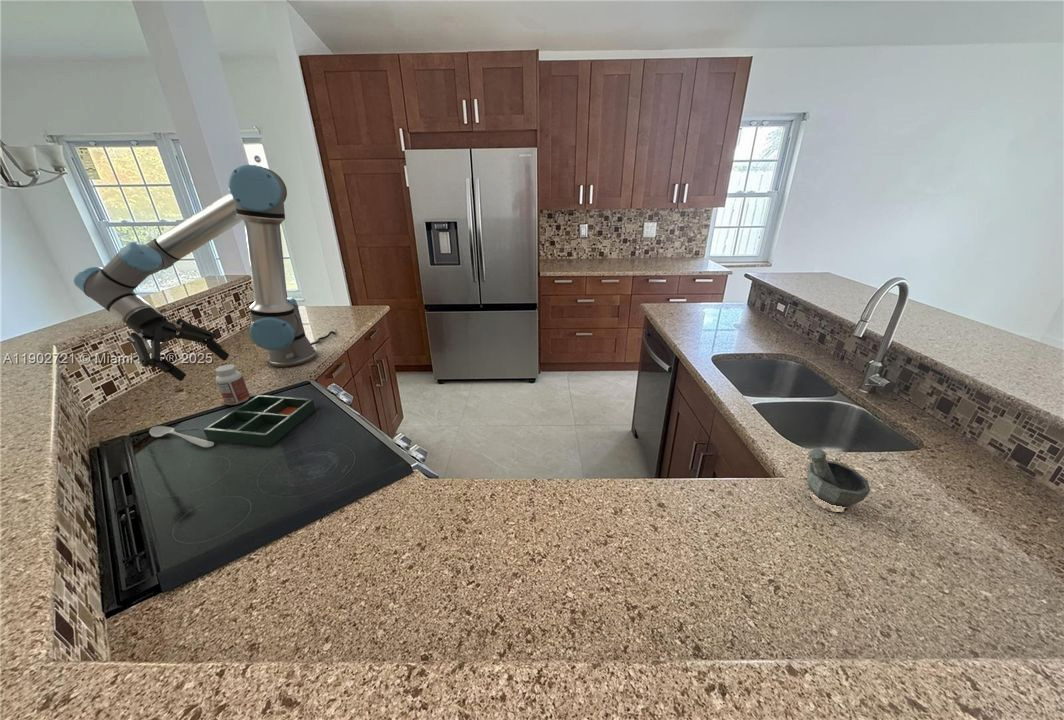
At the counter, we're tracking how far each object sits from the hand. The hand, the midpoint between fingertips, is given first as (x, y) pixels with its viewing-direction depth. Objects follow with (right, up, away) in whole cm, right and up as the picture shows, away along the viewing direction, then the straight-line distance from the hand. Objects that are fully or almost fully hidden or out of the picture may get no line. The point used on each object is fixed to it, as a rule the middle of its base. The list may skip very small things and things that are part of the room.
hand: (206, 367), depth 108 cm
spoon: (+6, -18, -13) cm, 24 cm away
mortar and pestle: (+156, -27, -31) cm, 161 cm away
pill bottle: (+6, -10, +4) cm, 13 cm away
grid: (+23, -15, -7) cm, 28 cm away
